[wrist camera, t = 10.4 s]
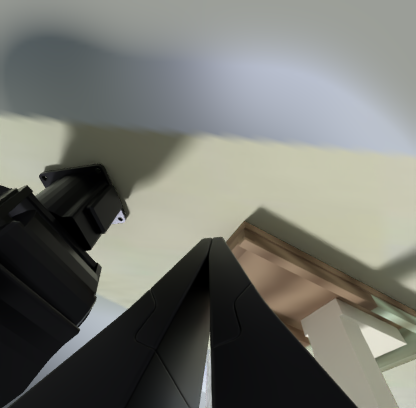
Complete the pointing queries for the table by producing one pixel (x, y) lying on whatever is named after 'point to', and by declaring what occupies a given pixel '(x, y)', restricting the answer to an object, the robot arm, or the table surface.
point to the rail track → (315, 289)
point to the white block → (353, 351)
